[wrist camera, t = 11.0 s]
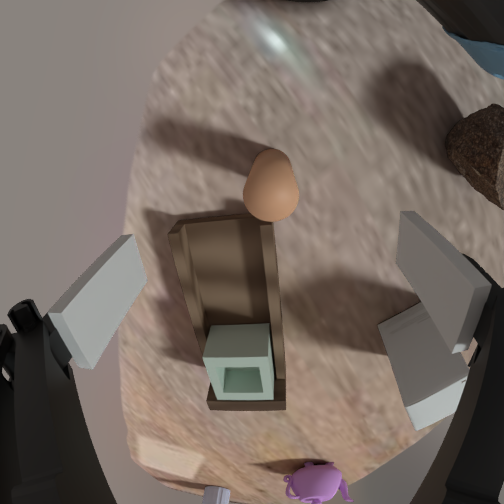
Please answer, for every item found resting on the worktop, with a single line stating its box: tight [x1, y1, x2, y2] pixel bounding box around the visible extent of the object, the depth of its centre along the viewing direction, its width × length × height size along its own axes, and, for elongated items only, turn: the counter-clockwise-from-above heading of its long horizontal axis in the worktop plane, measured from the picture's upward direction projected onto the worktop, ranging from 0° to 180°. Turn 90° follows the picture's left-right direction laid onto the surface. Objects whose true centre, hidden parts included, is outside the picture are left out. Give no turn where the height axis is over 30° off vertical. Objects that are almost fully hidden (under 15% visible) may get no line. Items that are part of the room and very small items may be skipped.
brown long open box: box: [168, 213, 286, 411], centre depth 36 cm, size 26×11×8 cm, turn 7°
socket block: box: [202, 323, 274, 400], centre depth 38 cm, size 9×8×6 cm
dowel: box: [243, 149, 299, 222], centre depth 26 cm, size 4×4×11 cm
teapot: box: [284, 462, 353, 504], centre depth 59 cm, size 20×14×12 cm
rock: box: [445, 104, 504, 210], centre depth 23 cm, size 12×10×10 cm
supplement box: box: [378, 302, 469, 431], centre depth 33 cm, size 9×9×15 cm
